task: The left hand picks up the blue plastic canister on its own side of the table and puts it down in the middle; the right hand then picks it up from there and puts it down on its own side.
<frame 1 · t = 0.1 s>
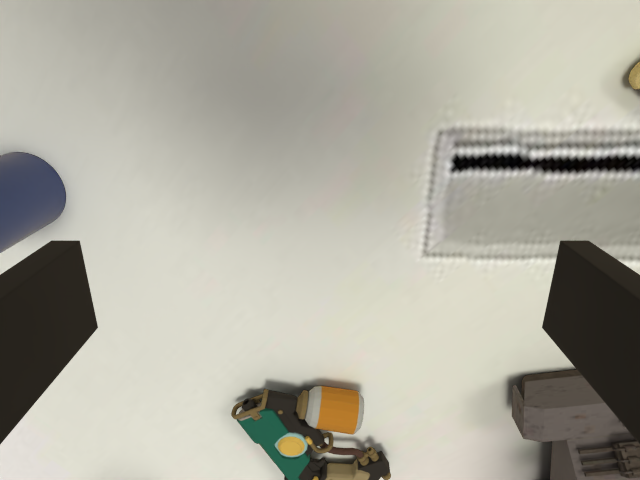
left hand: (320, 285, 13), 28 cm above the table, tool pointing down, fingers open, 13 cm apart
spray gun: (315, 432, 51), on the table
toy: (618, 432, 51), on the table
canister: (27, 190, 40), on the table
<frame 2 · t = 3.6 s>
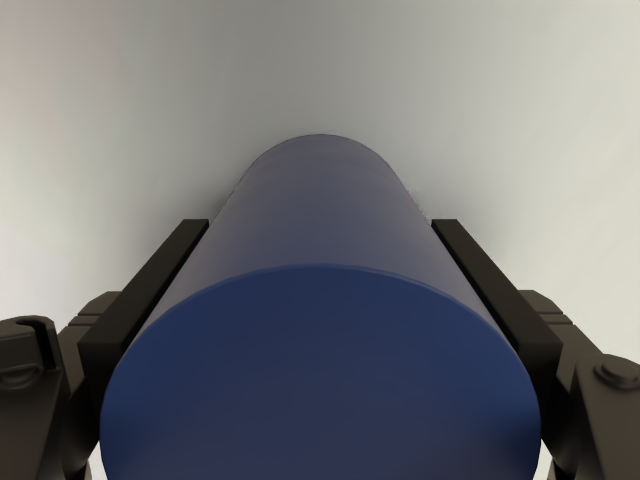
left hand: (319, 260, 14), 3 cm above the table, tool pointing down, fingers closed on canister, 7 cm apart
canister: (320, 224, 17), on the table, touching left hand
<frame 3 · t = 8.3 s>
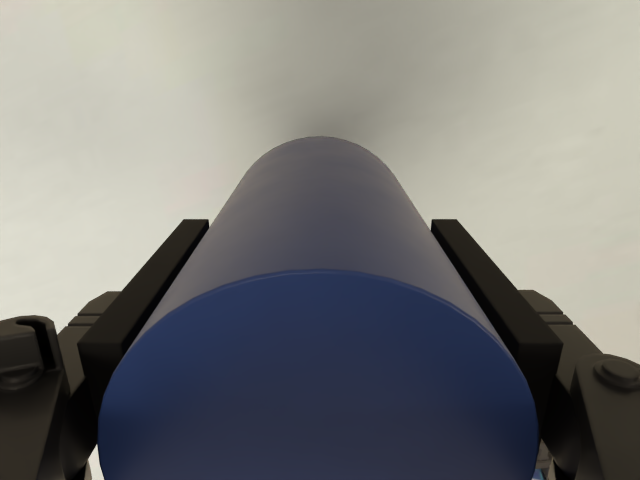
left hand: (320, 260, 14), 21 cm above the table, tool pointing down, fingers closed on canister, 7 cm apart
canister: (319, 225, 17), point 18 cm above the table, touching left hand
toy gun: (544, 444, 44), on the table
when the left hand's fingers open (5 cm above the table, at t = 12.9 s): canister drops 2 cm, on the table.
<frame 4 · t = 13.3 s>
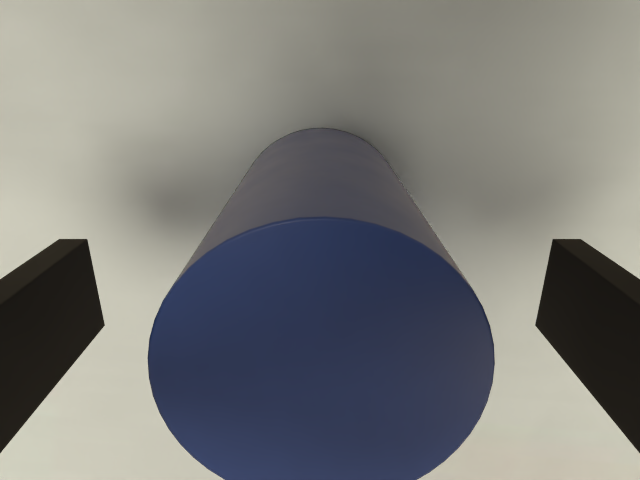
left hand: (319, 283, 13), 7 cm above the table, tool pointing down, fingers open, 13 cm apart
canister: (320, 209, 19), on the table
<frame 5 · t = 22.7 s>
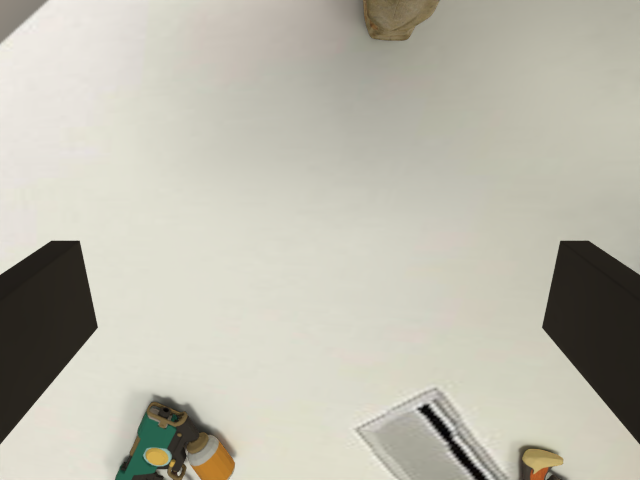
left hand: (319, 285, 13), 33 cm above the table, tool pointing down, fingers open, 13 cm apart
spray gun: (173, 454, 59), on the table
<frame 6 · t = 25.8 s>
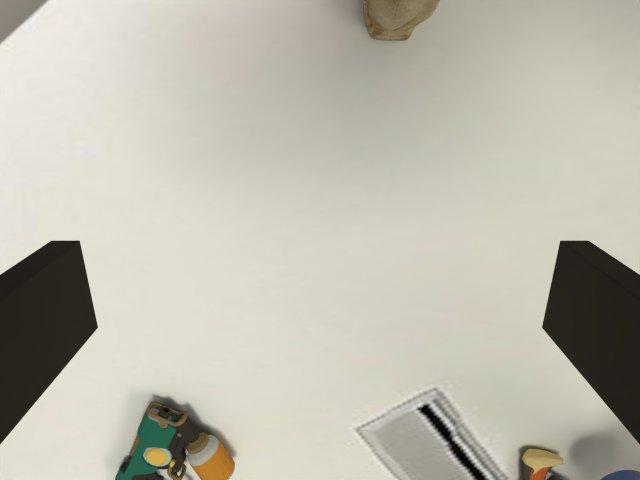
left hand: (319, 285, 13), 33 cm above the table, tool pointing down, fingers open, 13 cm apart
spray gun: (173, 454, 59), on the table
when the right hand's fingers open (8 cm above the table, at t = 29.3 s): canister drops 2 cm, on the table.
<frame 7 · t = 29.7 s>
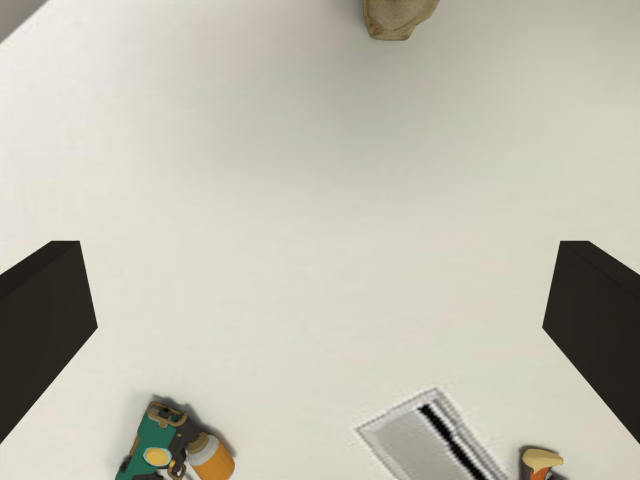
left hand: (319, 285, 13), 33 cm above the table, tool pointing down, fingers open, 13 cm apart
spray gun: (173, 454, 59), on the table
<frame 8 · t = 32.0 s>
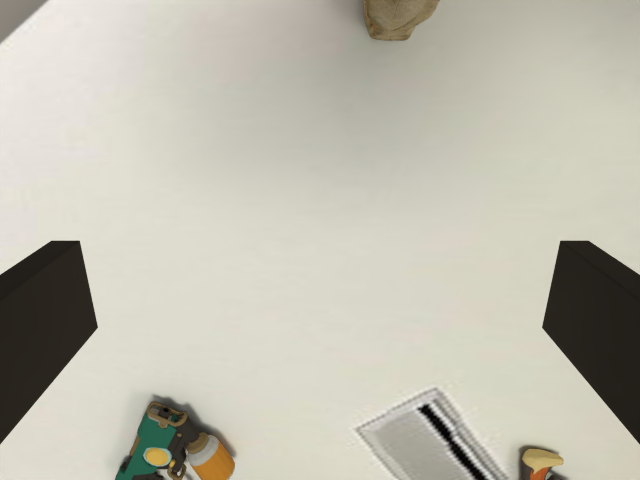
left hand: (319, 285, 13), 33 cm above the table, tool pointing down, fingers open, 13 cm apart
spray gun: (173, 454, 59), on the table
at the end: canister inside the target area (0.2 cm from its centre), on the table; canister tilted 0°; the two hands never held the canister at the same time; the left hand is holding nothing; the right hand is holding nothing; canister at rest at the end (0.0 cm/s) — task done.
